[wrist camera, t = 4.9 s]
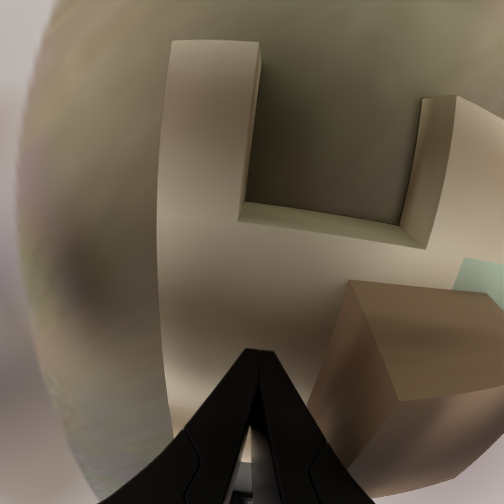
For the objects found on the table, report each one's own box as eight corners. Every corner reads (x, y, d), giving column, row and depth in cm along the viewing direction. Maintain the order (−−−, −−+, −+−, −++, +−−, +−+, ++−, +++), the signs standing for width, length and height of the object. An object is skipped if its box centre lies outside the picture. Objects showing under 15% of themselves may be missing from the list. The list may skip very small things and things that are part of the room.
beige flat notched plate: (420, 428, 13) (429, 452, 11) (184, 421, 13) (176, 450, 12) (543, 161, 7) (574, 171, 5) (193, 58, 7) (172, 40, 5)
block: (425, 400, 9) (454, 478, 6) (306, 404, 9) (312, 504, 6) (486, 293, 7) (553, 370, 4) (349, 279, 7) (399, 401, 4)
